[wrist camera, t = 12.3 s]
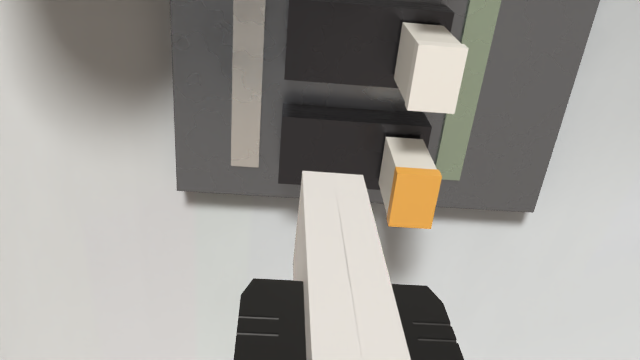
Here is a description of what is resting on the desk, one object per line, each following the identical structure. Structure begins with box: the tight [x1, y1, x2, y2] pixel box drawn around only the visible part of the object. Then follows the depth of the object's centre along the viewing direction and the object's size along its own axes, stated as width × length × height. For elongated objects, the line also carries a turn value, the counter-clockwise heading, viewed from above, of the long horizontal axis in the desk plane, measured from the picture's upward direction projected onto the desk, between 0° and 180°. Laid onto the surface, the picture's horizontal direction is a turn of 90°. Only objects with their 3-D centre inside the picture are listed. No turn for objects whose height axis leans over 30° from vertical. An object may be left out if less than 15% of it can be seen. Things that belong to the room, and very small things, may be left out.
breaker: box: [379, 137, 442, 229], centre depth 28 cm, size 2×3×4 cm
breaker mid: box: [394, 22, 469, 114], centre depth 26 cm, size 2×3×4 cm
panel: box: [170, 0, 600, 212], centre depth 30 cm, size 22×18×4 cm
